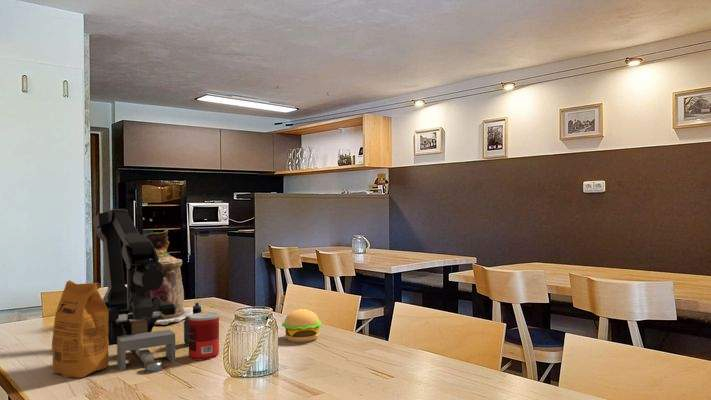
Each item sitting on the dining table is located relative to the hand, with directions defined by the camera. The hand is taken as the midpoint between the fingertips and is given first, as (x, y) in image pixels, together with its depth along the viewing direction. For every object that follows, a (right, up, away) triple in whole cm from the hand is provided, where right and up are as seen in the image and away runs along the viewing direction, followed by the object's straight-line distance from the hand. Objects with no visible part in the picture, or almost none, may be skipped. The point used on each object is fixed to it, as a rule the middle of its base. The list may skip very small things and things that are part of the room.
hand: (138, 342), depth 141 cm
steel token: (+10, -3, -15) cm, 18 cm away
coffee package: (-8, -3, -15) cm, 17 cm away
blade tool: (+3, -2, -5) cm, 6 cm away
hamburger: (+44, -3, +14) cm, 46 cm away
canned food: (+19, -3, -3) cm, 20 cm away
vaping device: (+12, -3, +9) cm, 15 cm away
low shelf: (+6, -3, -9) cm, 11 cm away
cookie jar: (-12, -4, +45) cm, 47 cm away
